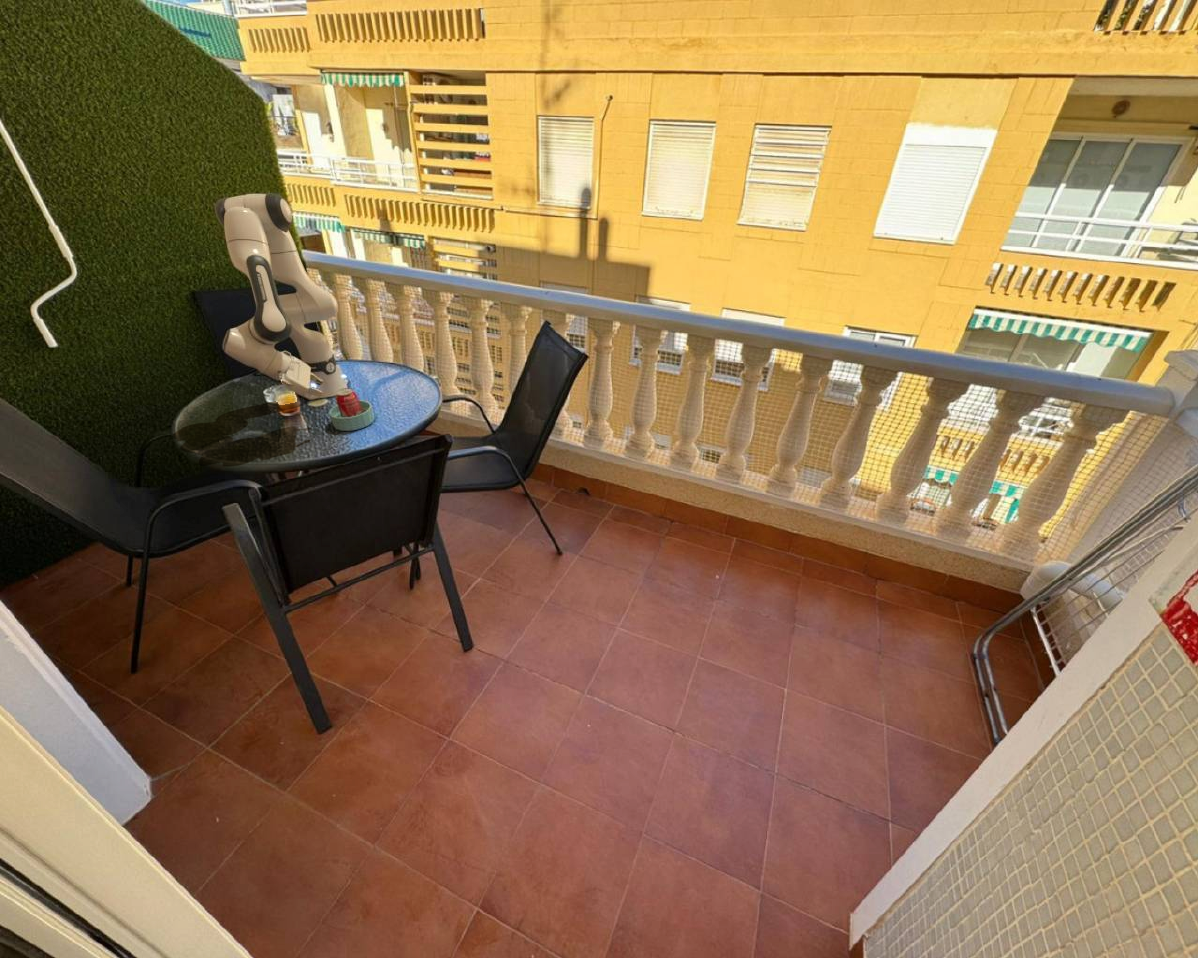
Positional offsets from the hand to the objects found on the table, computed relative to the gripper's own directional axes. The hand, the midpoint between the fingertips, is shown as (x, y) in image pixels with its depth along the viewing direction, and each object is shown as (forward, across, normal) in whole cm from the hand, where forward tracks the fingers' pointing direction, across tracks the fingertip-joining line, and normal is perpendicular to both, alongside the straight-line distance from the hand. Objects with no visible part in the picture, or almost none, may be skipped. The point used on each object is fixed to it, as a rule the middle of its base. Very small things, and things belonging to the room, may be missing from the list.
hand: (321, 388), depth 173 cm
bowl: (+15, 0, +6) cm, 16 cm away
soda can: (+15, 0, +5) cm, 16 cm away
